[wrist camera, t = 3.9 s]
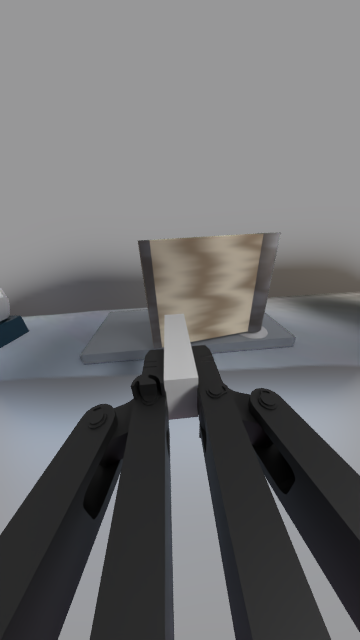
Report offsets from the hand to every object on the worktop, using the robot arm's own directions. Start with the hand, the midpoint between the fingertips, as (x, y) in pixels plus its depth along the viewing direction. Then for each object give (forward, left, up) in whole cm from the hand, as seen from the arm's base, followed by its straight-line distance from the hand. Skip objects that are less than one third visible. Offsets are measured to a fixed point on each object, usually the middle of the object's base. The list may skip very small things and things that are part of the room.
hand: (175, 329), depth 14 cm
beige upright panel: (-1, -9, -6) cm, 10 cm away
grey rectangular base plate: (+4, -12, -8) cm, 15 cm away
